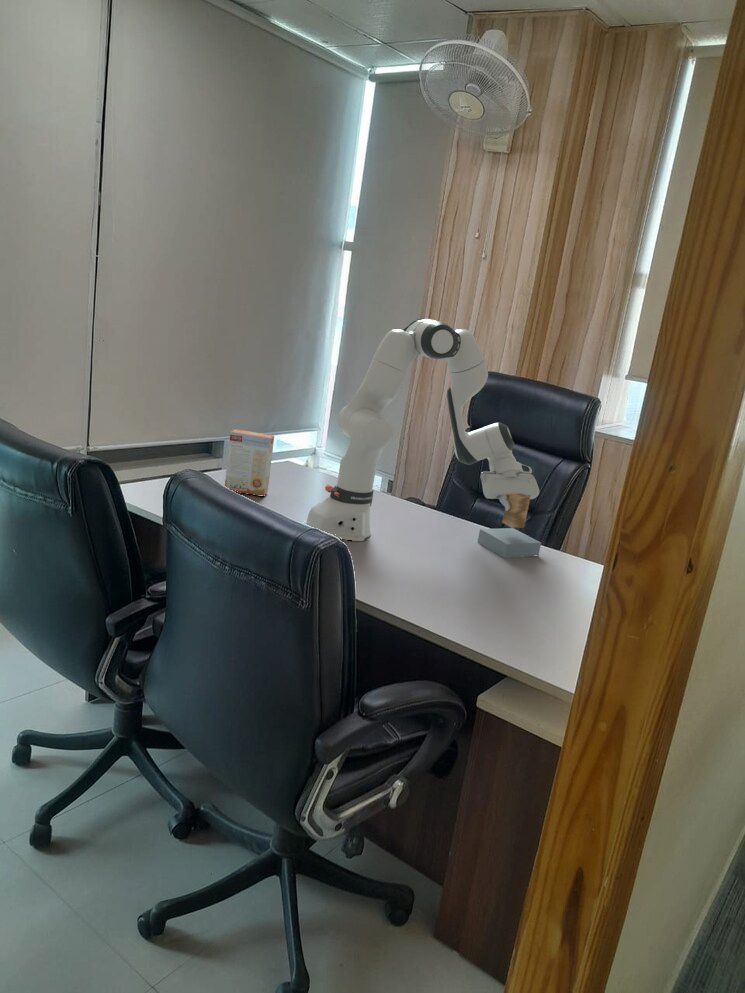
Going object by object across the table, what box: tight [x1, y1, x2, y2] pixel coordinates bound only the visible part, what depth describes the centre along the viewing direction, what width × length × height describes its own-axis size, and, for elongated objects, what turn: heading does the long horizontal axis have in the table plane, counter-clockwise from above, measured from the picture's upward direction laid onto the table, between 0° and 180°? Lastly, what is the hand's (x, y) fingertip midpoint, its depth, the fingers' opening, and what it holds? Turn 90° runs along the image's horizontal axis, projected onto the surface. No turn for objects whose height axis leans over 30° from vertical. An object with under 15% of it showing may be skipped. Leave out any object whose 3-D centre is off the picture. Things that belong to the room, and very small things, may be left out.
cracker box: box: [224, 428, 275, 496], centre depth 267 cm, size 14×6×21 cm, turn 84°
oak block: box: [501, 494, 531, 529], centre depth 250 cm, size 5×5×10 cm
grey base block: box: [477, 527, 542, 559], centre depth 253 cm, size 14×14×5 cm
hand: (517, 509), depth 250 cm, fingers closed on oak block, 5 cm apart
